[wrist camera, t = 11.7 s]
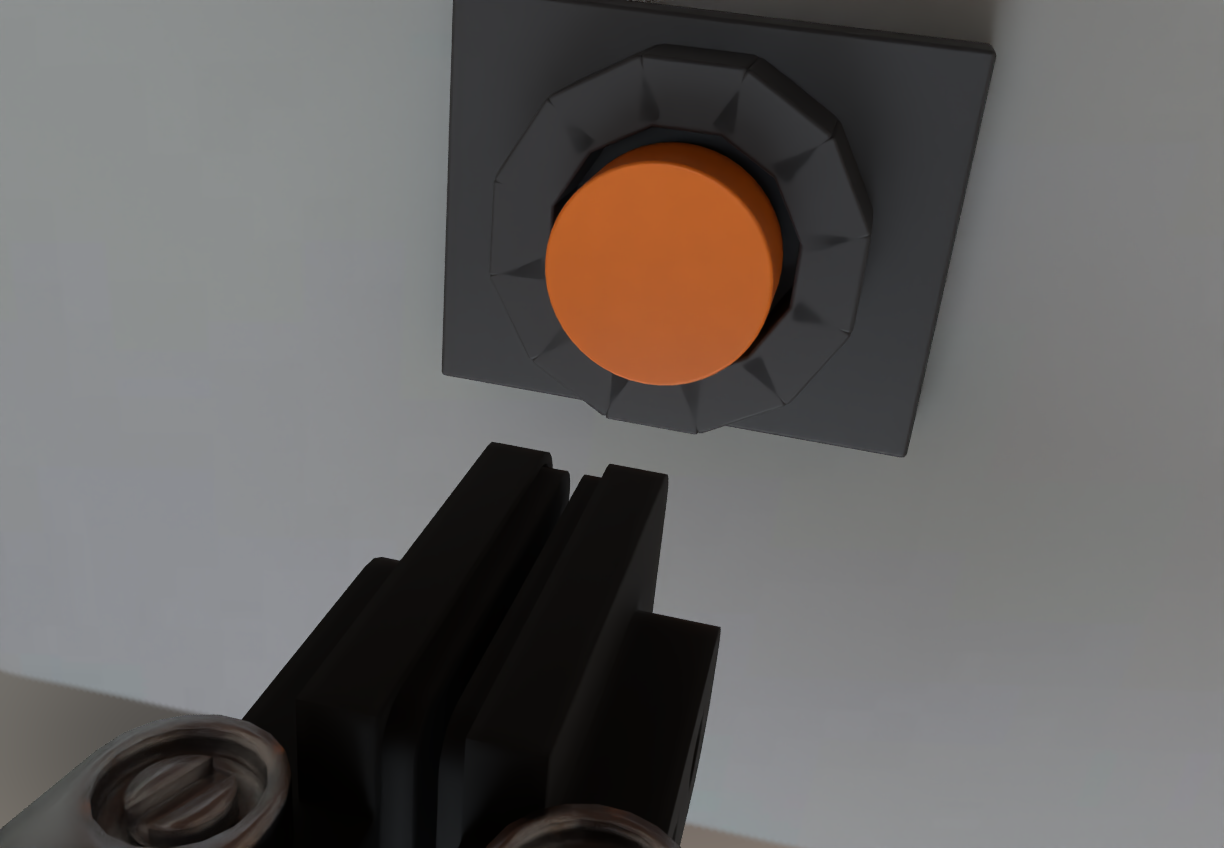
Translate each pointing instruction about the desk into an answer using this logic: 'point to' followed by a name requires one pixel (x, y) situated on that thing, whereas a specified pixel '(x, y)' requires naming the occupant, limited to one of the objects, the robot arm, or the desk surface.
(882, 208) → the control block
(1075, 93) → the desk surface
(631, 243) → the button
